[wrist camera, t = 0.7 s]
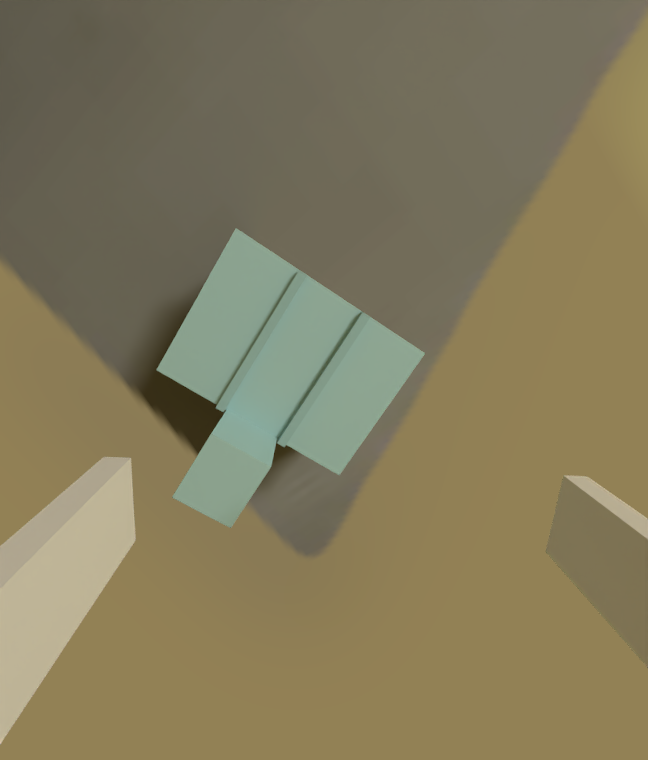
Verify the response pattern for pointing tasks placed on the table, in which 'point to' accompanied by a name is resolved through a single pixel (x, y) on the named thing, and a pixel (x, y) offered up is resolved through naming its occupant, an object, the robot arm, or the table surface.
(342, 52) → the table surface
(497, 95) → the table surface
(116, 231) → the table surface
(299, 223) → the table surface
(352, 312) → the lid
